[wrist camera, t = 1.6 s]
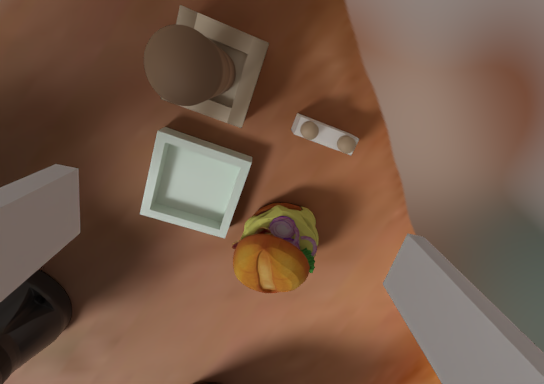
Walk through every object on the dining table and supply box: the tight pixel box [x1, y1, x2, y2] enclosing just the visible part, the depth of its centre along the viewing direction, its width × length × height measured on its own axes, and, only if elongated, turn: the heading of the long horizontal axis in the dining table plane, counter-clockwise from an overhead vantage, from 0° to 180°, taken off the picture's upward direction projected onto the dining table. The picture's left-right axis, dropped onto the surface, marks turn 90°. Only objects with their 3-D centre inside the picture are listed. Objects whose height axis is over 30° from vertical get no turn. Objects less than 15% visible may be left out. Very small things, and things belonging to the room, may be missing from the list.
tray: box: [140, 127, 252, 238], centre depth 33 cm, size 11×11×2 cm
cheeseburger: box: [232, 203, 319, 293], centre depth 34 cm, size 10×11×10 cm
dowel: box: [144, 24, 236, 106], centre depth 20 cm, size 4×4×12 cm
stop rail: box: [291, 113, 359, 155], centre depth 31 cm, size 7×2×4 cm, turn 70°
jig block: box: [161, 5, 269, 128], centre depth 27 cm, size 8×8×5 cm
